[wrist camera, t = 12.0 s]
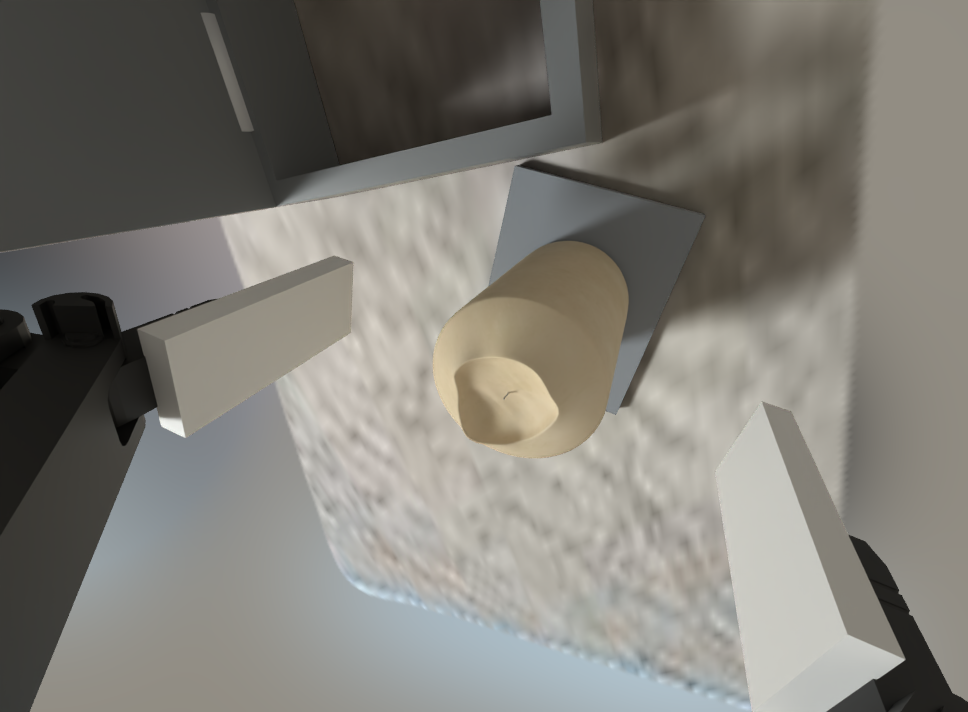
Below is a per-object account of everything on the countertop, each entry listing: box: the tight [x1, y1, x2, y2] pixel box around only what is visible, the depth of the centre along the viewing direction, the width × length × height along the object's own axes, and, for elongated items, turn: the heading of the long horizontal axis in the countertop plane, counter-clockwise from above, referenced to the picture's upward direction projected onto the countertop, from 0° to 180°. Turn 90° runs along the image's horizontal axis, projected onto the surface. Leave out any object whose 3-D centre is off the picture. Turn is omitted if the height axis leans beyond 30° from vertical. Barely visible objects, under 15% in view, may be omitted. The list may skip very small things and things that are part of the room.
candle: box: [433, 241, 629, 458], centre depth 16 cm, size 6×6×10 cm
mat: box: [488, 165, 705, 415], centre depth 21 cm, size 10×8×1 cm
